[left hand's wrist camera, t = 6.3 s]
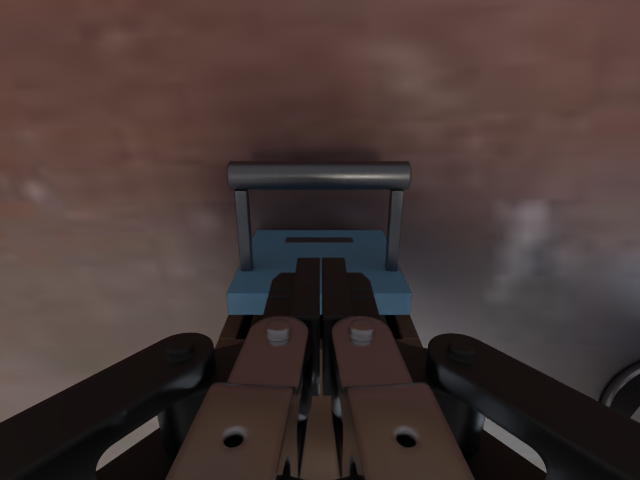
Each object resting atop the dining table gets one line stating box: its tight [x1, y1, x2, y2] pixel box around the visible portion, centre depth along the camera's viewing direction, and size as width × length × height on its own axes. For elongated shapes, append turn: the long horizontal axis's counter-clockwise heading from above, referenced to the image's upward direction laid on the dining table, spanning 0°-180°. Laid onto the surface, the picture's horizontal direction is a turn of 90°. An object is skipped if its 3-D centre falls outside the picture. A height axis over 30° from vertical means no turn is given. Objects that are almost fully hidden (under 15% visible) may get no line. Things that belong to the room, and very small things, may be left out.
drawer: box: [227, 161, 412, 339], centre depth 24 cm, size 24×9×9 cm, turn 0°
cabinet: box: [215, 315, 423, 480], centre depth 27 cm, size 20×10×11 cm, turn 0°
